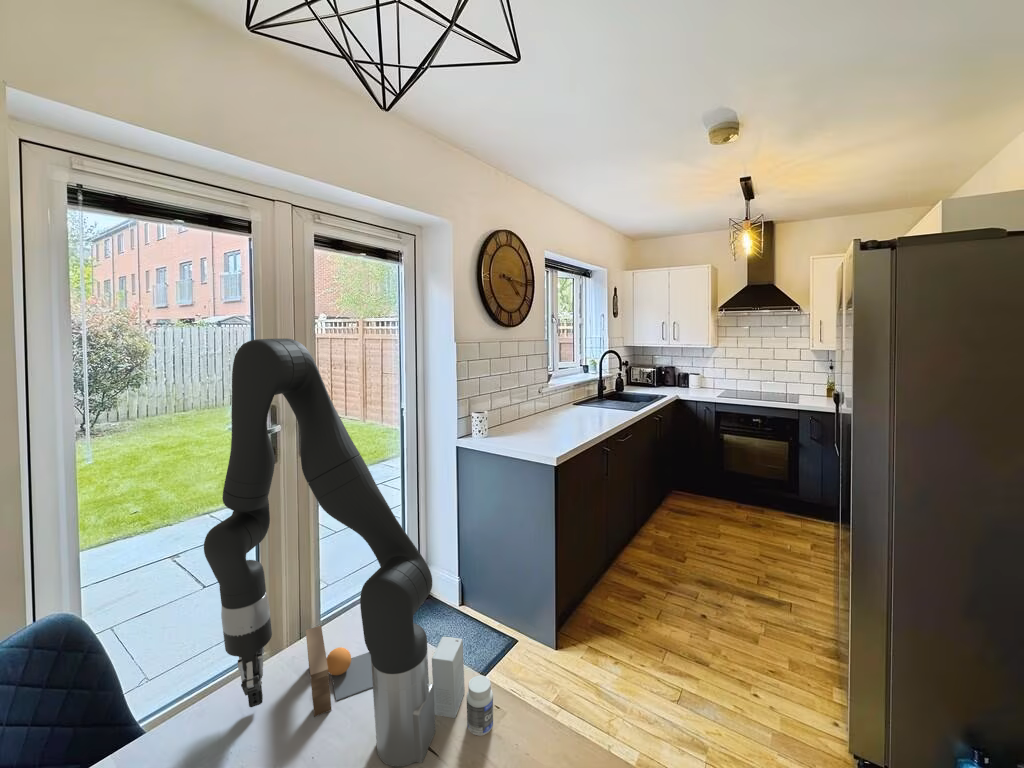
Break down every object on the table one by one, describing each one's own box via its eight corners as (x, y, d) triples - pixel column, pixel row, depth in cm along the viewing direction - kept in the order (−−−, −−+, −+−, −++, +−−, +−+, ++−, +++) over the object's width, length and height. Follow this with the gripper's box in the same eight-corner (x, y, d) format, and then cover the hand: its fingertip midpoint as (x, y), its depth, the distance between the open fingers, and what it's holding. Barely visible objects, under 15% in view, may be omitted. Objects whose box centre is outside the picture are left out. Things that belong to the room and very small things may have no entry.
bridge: (314, 716, 85) (310, 675, 84) (309, 667, 97) (305, 630, 96) (331, 710, 86) (328, 669, 85) (324, 662, 98) (321, 625, 97)
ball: (347, 675, 97) (359, 652, 97) (335, 684, 92) (348, 660, 93) (328, 661, 98) (341, 639, 98) (316, 670, 93) (329, 647, 94)
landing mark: (336, 701, 88) (335, 700, 88) (330, 666, 97) (330, 665, 97) (388, 681, 93) (388, 680, 93) (378, 649, 102) (378, 649, 102)
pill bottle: (489, 738, 80) (489, 696, 79) (464, 734, 81) (462, 692, 80) (496, 715, 85) (495, 675, 84) (471, 711, 86) (470, 671, 85)
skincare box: (444, 689, 91) (442, 635, 89) (465, 692, 90) (463, 638, 88) (433, 715, 85) (430, 658, 83) (455, 719, 84) (453, 661, 82)
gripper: (269, 635, 80) (278, 722, 82) (270, 594, 91) (278, 671, 94) (218, 650, 76) (230, 740, 79) (225, 605, 88) (235, 685, 91)
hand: (256, 702), depth 86 cm, fingers closed
